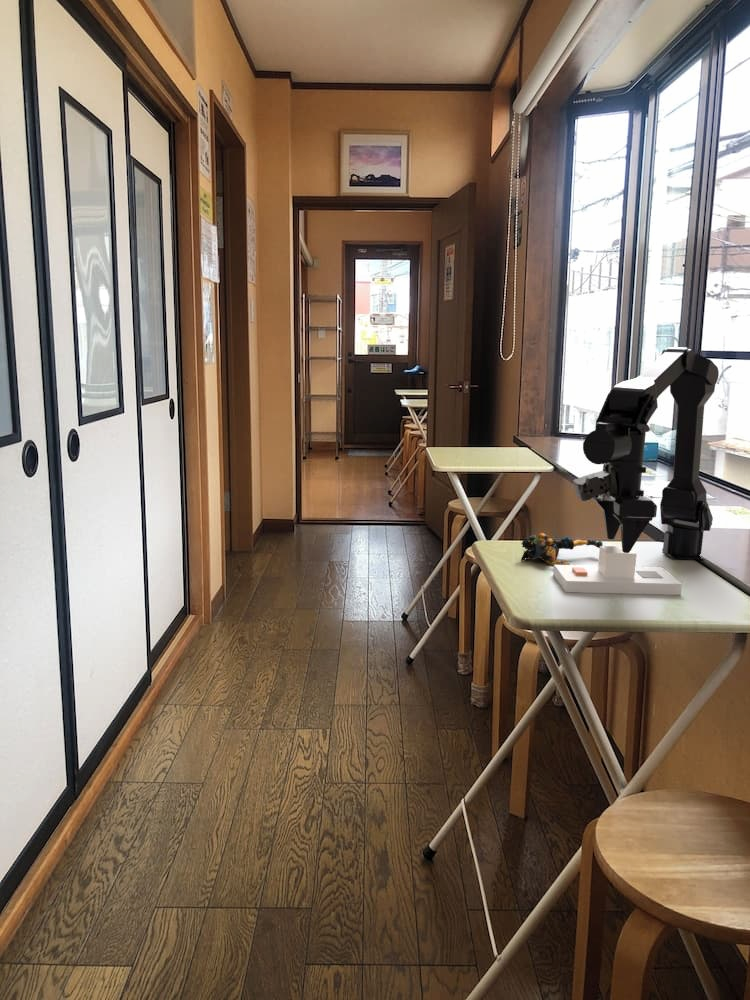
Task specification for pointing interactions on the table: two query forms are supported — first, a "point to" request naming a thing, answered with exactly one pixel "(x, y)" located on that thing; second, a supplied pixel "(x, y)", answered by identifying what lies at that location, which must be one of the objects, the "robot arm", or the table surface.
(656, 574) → the power strip
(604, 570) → the block
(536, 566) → the table surface
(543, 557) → the action figure
